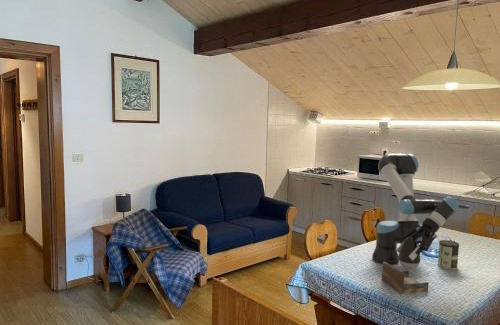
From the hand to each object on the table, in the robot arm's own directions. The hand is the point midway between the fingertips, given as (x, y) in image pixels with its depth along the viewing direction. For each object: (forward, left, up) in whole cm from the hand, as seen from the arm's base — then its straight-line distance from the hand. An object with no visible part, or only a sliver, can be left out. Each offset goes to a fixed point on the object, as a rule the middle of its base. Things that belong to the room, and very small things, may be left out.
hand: (404, 254), depth 189 cm
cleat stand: (+1, +2, -16) cm, 17 cm away
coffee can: (+13, +46, -17) cm, 51 cm away
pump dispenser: (+2, +2, -7) cm, 7 cm away
